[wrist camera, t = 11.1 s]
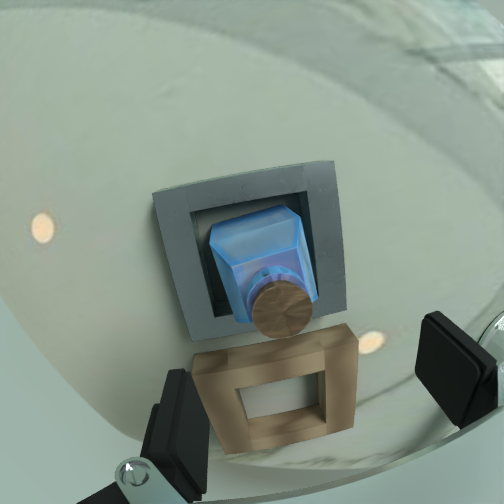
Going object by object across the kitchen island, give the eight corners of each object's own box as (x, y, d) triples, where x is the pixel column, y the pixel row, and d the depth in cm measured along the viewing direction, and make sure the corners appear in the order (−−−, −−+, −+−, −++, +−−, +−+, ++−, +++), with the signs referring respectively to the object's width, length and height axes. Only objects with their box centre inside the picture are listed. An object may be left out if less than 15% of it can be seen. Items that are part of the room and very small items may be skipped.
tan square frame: (345, 323, 30) (358, 340, 26) (344, 408, 34) (353, 427, 30) (194, 354, 29) (191, 375, 26) (224, 434, 33) (225, 454, 30)
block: (321, 160, 24) (333, 160, 22) (335, 296, 28) (346, 309, 26) (160, 189, 24) (151, 193, 21) (194, 324, 28) (192, 341, 25)
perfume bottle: (233, 288, 27) (241, 373, 16) (212, 224, 25) (204, 276, 14) (298, 269, 27) (346, 340, 16) (282, 203, 25) (329, 238, 14)
